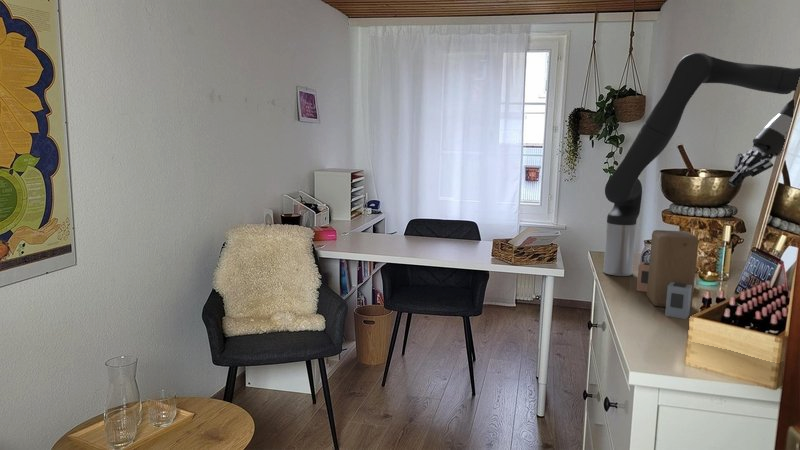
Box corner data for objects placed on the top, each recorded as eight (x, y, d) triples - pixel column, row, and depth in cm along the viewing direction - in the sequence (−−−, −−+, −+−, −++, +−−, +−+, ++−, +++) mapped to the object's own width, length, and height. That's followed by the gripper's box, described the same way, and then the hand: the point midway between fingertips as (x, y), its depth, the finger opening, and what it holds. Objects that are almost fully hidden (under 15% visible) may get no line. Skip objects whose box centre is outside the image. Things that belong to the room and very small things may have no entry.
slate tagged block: (668, 310, 155) (671, 280, 153) (689, 314, 152) (692, 284, 150) (664, 315, 150) (667, 285, 149) (685, 319, 148) (688, 288, 146)
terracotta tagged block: (640, 286, 178) (642, 260, 177) (657, 289, 176) (660, 263, 174) (636, 290, 174) (638, 263, 173) (653, 293, 171) (656, 266, 170)
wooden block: (692, 309, 156) (700, 237, 152) (653, 307, 158) (659, 235, 154) (682, 299, 165) (689, 231, 162) (645, 297, 167) (651, 229, 164)
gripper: (752, 124, 161) (708, 172, 164) (785, 128, 148) (737, 181, 151) (769, 140, 163) (726, 188, 166) (804, 146, 150) (756, 198, 153)
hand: (731, 184), depth 158 cm, fingers closed
